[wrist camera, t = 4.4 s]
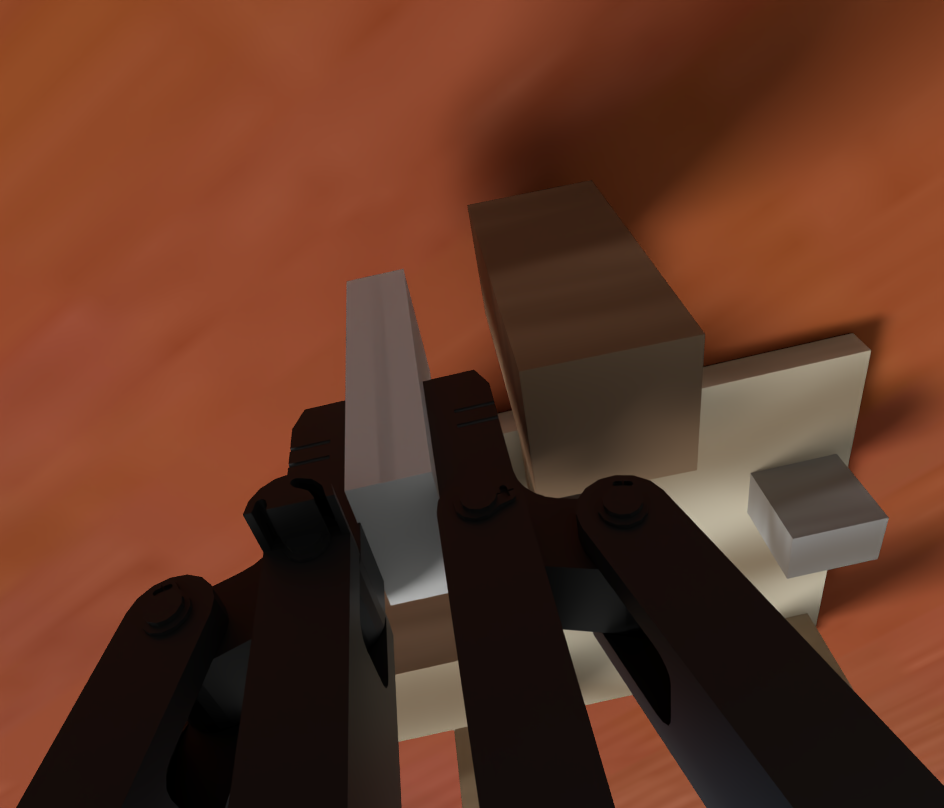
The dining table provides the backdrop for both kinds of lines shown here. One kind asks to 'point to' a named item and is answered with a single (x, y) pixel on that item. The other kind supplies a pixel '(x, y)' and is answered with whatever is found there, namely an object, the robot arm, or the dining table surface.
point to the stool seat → (705, 521)
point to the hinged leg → (587, 341)
